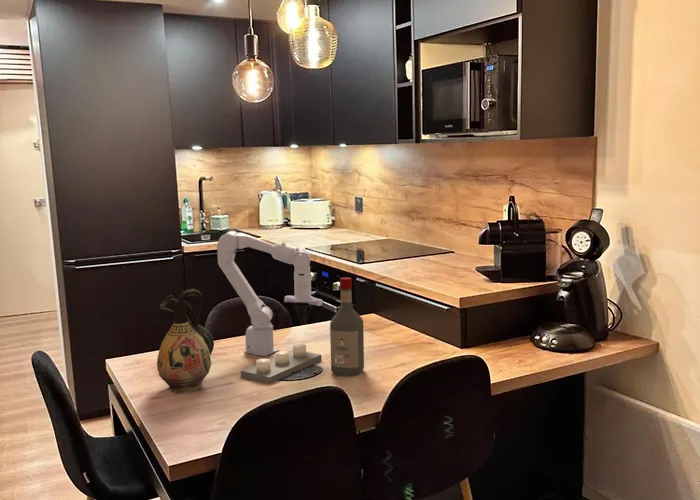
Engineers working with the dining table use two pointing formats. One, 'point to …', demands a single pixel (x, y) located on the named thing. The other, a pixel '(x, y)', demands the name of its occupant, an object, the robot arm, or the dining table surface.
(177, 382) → the ceramic jug
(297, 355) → the knob
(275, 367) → the mount board
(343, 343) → the liquor
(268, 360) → the knob
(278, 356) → the knob middle
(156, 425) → the dining table surface
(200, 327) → the squash
